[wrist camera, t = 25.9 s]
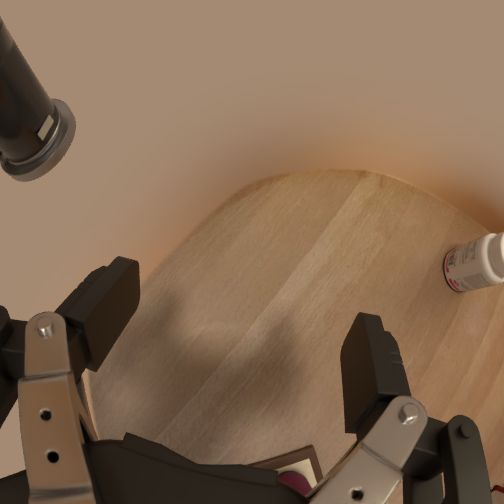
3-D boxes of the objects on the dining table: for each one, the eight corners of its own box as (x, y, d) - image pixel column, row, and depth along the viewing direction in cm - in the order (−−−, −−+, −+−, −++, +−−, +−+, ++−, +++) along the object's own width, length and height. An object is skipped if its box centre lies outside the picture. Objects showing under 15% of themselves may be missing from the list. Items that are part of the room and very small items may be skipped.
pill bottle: (477, 283, 28) (532, 268, 20) (451, 299, 27) (508, 288, 19) (464, 242, 29) (516, 220, 20) (437, 256, 28) (491, 234, 20)
